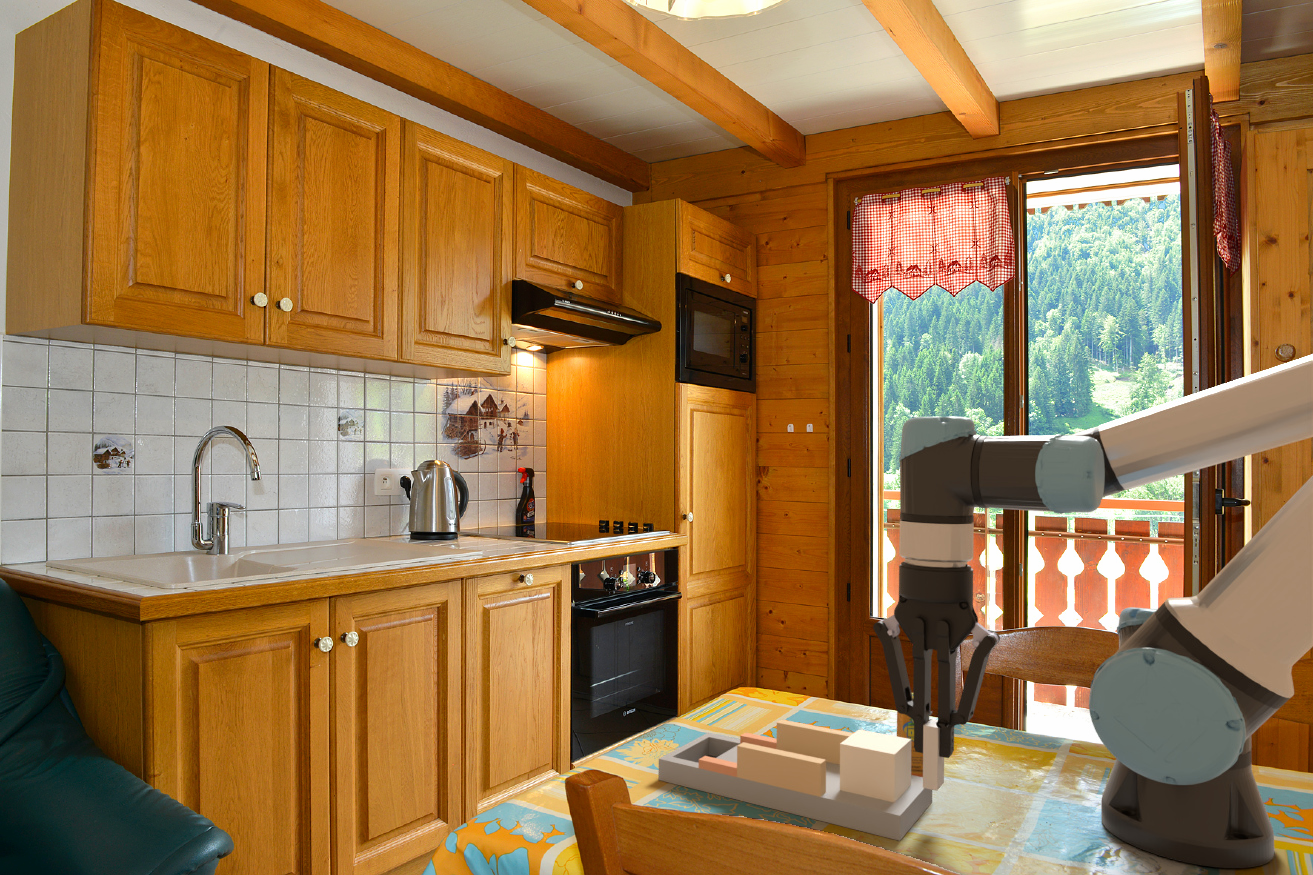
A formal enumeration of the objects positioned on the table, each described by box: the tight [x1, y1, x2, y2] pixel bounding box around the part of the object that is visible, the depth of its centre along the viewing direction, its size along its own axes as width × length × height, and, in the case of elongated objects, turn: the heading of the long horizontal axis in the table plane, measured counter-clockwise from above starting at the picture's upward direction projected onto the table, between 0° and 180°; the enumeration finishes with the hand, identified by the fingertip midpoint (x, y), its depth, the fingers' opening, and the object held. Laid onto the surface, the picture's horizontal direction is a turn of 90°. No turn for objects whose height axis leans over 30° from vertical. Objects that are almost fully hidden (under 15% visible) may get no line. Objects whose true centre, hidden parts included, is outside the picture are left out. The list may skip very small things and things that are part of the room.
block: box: [840, 729, 911, 803], centre depth 93 cm, size 6×6×5 cm
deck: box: [658, 719, 933, 842], centre depth 99 cm, size 29×12×6 cm, turn 57°
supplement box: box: [896, 692, 923, 777], centre depth 103 cm, size 3×3×10 cm
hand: (933, 784), depth 90 cm, fingers closed
